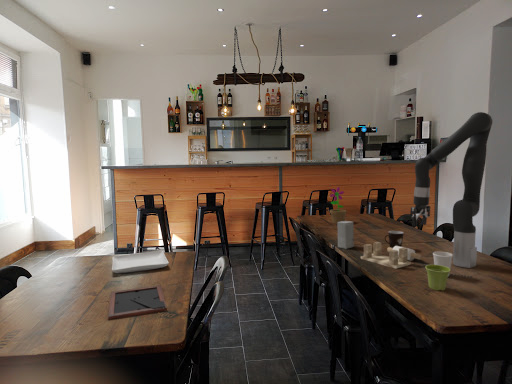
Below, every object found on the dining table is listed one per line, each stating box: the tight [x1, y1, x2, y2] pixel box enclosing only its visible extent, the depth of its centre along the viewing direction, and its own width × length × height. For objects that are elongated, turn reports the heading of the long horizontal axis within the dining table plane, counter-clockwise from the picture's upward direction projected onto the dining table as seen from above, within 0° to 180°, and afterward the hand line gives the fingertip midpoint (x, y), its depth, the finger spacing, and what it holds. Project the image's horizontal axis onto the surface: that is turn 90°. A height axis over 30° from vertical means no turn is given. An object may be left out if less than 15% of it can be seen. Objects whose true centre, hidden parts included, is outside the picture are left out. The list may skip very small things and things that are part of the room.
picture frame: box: [107, 284, 168, 320], centre depth 140 cm, size 20×2×25 cm
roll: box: [386, 246, 422, 262], centre depth 193 cm, size 19×6×6 cm, turn 33°
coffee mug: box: [384, 230, 404, 248], centre depth 213 cm, size 12×9×10 cm
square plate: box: [111, 250, 170, 274], centre depth 188 cm, size 27×27×4 cm
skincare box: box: [336, 220, 355, 250], centre depth 219 cm, size 8×7×16 cm
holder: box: [360, 241, 412, 269], centre depth 188 cm, size 22×12×8 cm, turn 33°
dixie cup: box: [432, 251, 453, 277], centre depth 165 cm, size 8×8×10 cm
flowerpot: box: [329, 186, 348, 224], centre depth 301 cm, size 14×14×30 cm
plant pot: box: [425, 264, 451, 291], centre depth 149 cm, size 9×9×9 cm
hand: (419, 225), depth 191 cm, fingers open, 8 cm apart
